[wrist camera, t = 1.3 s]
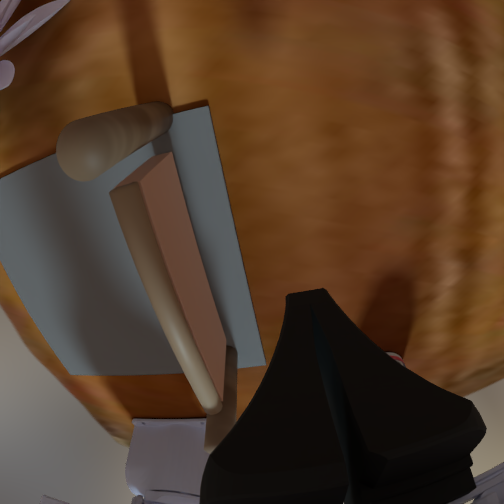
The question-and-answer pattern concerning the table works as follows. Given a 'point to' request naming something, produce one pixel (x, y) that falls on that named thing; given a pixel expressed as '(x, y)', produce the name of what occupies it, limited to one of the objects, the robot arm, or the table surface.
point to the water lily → (21, 31)
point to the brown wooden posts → (106, 156)
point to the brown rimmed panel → (173, 273)
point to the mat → (119, 257)
